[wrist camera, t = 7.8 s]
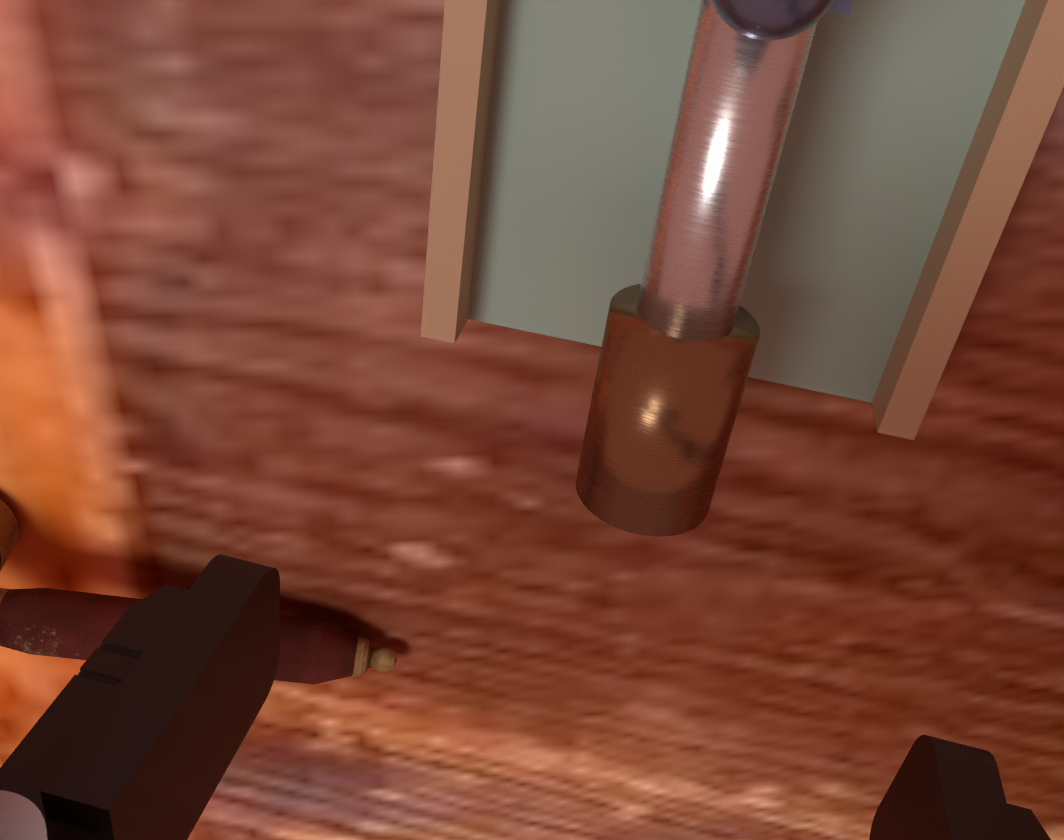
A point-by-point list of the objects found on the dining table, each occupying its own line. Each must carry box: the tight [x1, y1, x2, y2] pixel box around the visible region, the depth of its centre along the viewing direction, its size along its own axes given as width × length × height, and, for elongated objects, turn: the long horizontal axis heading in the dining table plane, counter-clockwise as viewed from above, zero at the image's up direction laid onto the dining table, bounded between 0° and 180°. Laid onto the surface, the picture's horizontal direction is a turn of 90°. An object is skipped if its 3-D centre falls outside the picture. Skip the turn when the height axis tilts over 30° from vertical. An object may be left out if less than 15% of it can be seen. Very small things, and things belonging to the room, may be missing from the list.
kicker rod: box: [576, 0, 853, 536], centre depth 21 cm, size 3×14×8 cm, turn 173°
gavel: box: [0, 499, 397, 684], centre depth 38 cm, size 21×5×10 cm, turn 77°
